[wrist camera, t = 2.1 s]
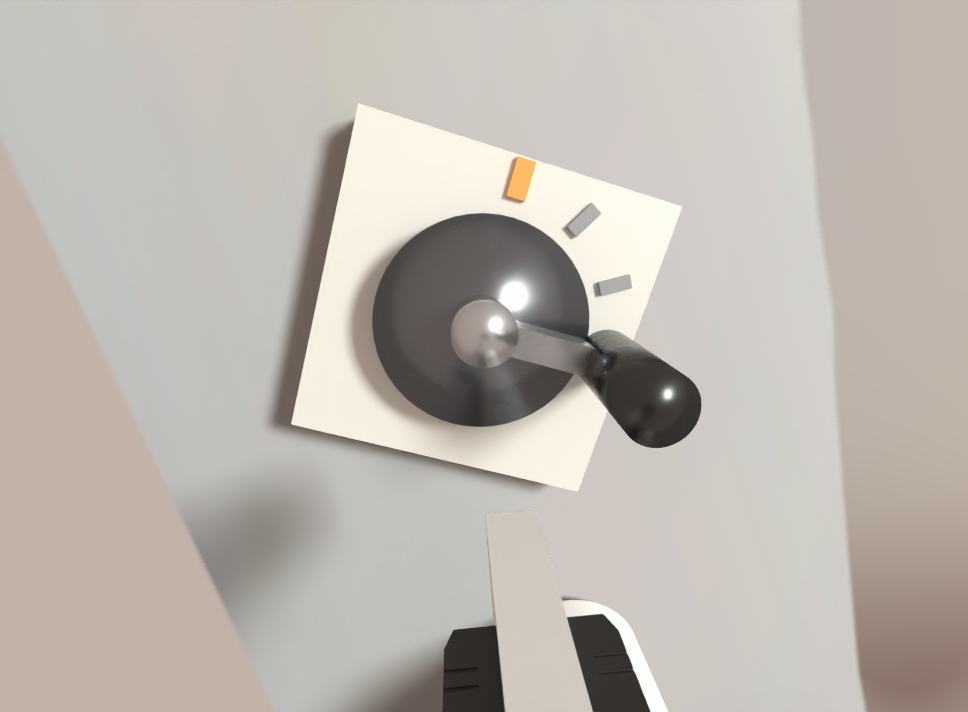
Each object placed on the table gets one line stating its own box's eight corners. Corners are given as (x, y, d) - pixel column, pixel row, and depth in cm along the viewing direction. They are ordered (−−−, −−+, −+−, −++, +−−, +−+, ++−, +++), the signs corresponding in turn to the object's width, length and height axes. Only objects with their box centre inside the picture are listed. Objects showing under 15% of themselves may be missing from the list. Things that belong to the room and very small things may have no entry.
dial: (356, 389, 23) (313, 464, 16) (404, 185, 21) (380, 169, 14) (592, 447, 24) (648, 539, 17) (660, 262, 22) (755, 282, 15)
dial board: (568, 472, 27) (579, 494, 25) (303, 408, 25) (289, 426, 23) (663, 207, 24) (684, 206, 22) (366, 113, 22) (357, 102, 20)
